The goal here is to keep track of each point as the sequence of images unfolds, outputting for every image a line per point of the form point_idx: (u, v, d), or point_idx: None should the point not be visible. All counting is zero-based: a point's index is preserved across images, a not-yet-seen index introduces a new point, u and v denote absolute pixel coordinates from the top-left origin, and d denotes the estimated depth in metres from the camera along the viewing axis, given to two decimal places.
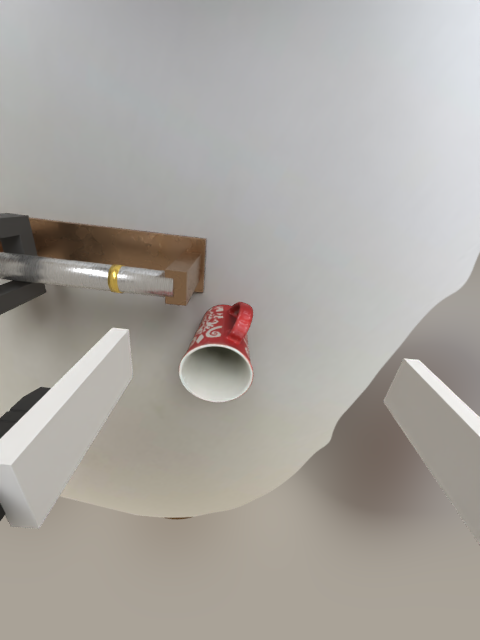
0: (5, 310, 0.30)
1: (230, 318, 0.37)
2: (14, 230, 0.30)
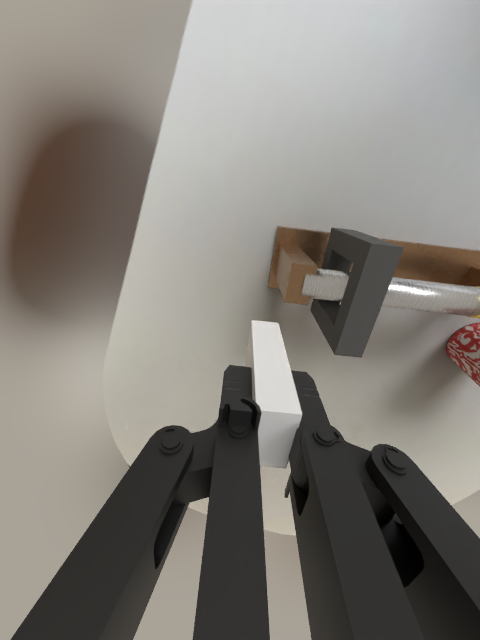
0: None
1: None
2: None
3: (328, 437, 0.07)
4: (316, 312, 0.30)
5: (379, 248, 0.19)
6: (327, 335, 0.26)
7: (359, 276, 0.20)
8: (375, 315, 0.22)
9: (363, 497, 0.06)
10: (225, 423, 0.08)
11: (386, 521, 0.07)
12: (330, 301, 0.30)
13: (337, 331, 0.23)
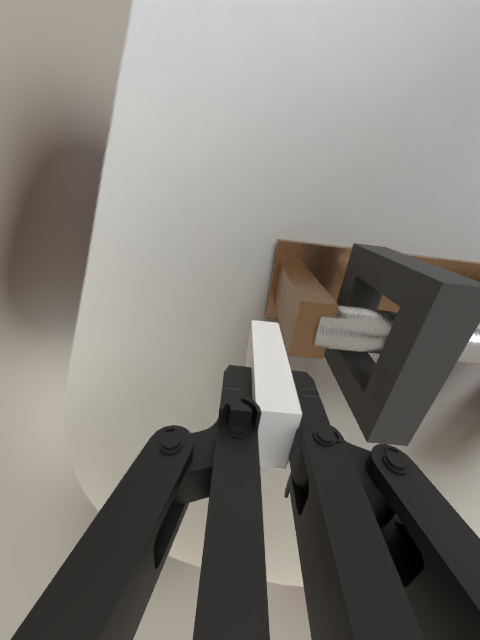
0: None
1: None
2: None
3: (328, 437, 0.07)
4: (331, 358, 0.22)
5: (455, 290, 0.11)
6: (351, 402, 0.18)
7: (414, 333, 0.12)
8: (436, 390, 0.13)
9: (363, 497, 0.06)
10: (225, 423, 0.08)
11: (386, 521, 0.07)
12: None
13: (371, 406, 0.15)
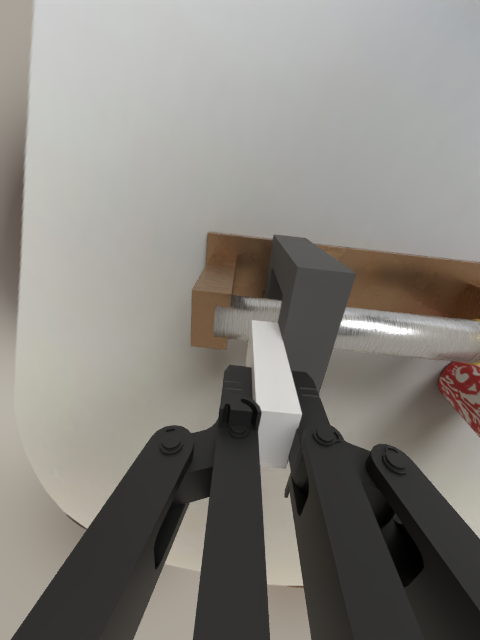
0: None
1: None
2: None
3: (328, 437, 0.07)
4: None
5: (312, 275, 0.11)
6: None
7: (285, 320, 0.12)
8: (319, 379, 0.13)
9: (363, 497, 0.06)
10: (225, 423, 0.08)
11: (386, 521, 0.07)
12: None
13: None
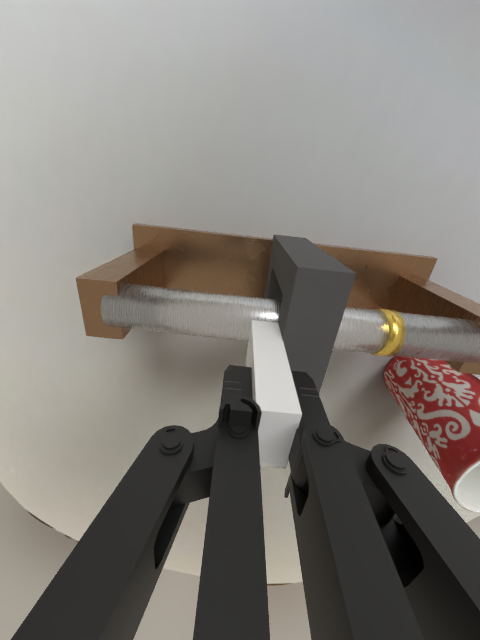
0: None
1: (470, 374, 0.25)
2: None
3: (328, 437, 0.07)
4: None
5: (312, 275, 0.11)
6: None
7: (285, 320, 0.12)
8: (319, 379, 0.13)
9: (363, 497, 0.06)
10: (225, 423, 0.08)
11: (386, 521, 0.07)
12: None
13: None
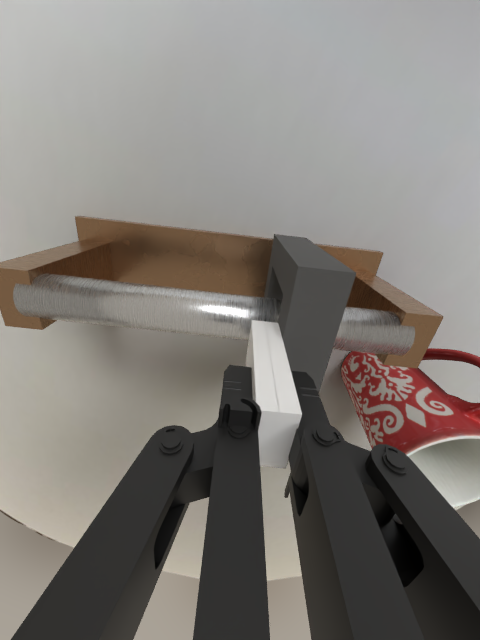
0: None
1: (416, 369, 0.25)
2: None
3: (328, 437, 0.07)
4: None
5: (313, 274, 0.11)
6: None
7: (285, 319, 0.12)
8: (319, 378, 0.13)
9: (363, 497, 0.06)
10: (225, 423, 0.08)
11: (386, 521, 0.07)
12: None
13: None
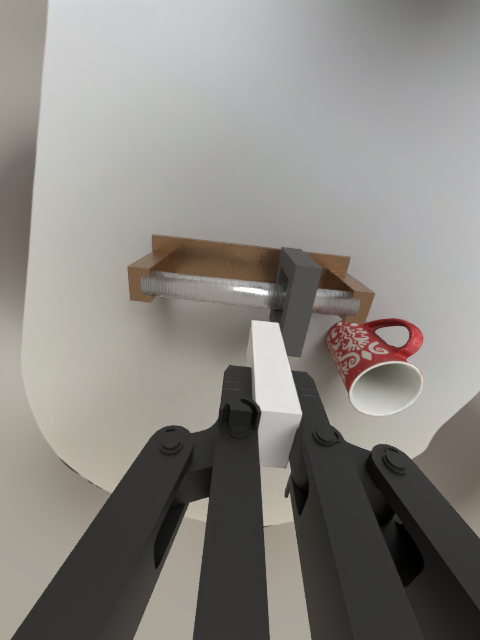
0: None
1: (373, 333, 0.38)
2: None
3: (328, 437, 0.07)
4: (272, 319, 0.35)
5: (303, 269, 0.24)
6: None
7: (290, 291, 0.25)
8: (307, 322, 0.26)
9: (363, 497, 0.06)
10: (225, 423, 0.08)
11: (386, 521, 0.07)
12: None
13: None
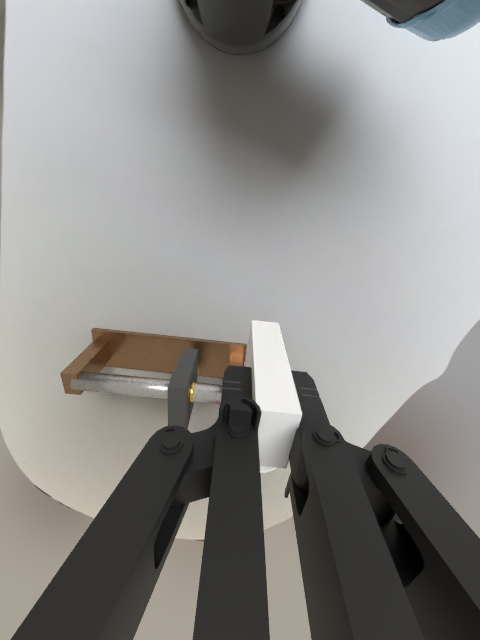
0: None
1: None
2: (195, 364, 0.42)
3: (328, 437, 0.07)
4: None
5: (172, 389, 0.35)
6: None
7: (168, 400, 0.36)
8: (183, 418, 0.37)
9: (363, 497, 0.06)
10: (225, 423, 0.08)
11: (386, 521, 0.07)
12: None
13: None
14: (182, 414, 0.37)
